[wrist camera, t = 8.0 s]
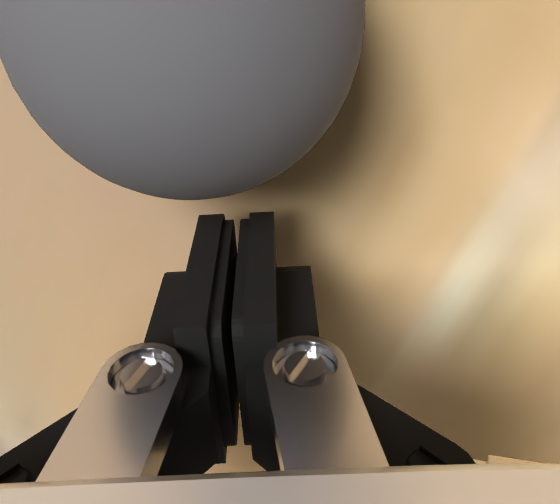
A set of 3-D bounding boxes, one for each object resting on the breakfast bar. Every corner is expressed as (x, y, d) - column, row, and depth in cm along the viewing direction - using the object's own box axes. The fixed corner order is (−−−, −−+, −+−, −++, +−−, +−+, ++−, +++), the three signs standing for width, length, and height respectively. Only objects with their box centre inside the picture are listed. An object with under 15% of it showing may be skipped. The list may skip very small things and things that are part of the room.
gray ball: (376, -80, 4) (329, -350, 7) (-200, 44, 5) (-54, -233, 8) (390, 238, 9) (360, 13, 12) (91, 272, 10) (123, 57, 12)
